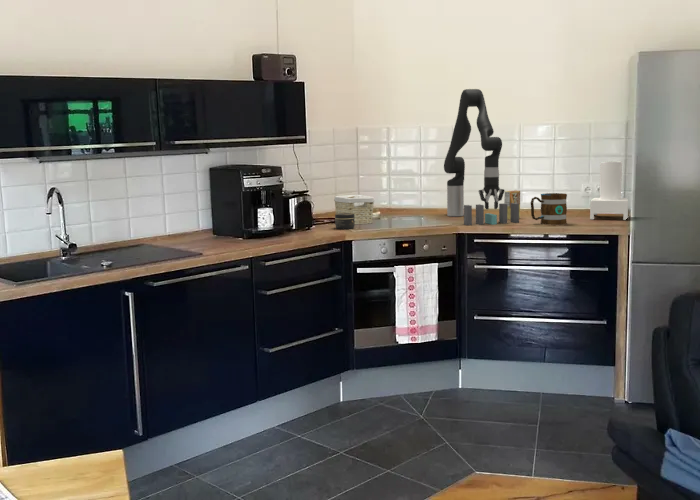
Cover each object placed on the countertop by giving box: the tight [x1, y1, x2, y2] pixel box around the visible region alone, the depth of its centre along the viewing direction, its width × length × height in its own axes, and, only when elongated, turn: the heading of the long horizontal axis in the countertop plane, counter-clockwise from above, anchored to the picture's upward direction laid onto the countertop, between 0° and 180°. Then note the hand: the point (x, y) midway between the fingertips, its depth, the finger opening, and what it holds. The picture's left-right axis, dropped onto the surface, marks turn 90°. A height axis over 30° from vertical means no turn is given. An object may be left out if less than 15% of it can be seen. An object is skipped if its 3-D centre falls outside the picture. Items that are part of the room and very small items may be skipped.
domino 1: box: [463, 204, 473, 226], centre depth 413 cm, size 2×5×10 cm, turn 12°
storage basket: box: [333, 194, 375, 225], centre depth 435 cm, size 24×16×15 cm
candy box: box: [503, 189, 521, 221], centre depth 435 cm, size 9×4×15 cm, turn 129°
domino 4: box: [510, 203, 520, 224], centre depth 418 cm, size 2×5×10 cm, turn 12°
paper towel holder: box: [589, 160, 629, 221], centre depth 429 cm, size 19×19×30 cm
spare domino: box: [484, 212, 498, 226], centre depth 416 cm, size 2×5×10 cm
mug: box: [530, 192, 568, 226], centre depth 409 cm, size 20×14×15 cm
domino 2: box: [475, 203, 485, 226], centre depth 414 cm, size 2×5×10 cm, turn 12°
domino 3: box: [498, 203, 508, 225], centre depth 417 cm, size 2×5×10 cm, turn 12°
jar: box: [334, 213, 356, 231], centre depth 408 cm, size 10×10×8 cm
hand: (491, 208), depth 415 cm, fingers open, 4 cm apart
